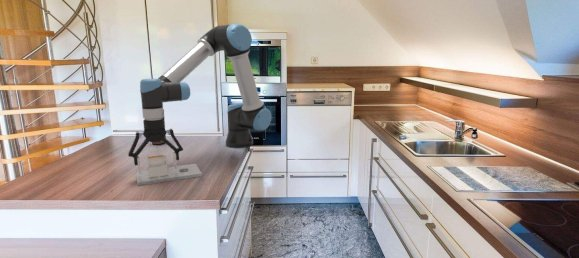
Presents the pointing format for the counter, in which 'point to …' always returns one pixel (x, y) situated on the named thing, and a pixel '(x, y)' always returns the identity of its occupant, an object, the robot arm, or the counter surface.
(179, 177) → the panel
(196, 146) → the counter surface
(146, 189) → the counter surface
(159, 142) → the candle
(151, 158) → the knob
